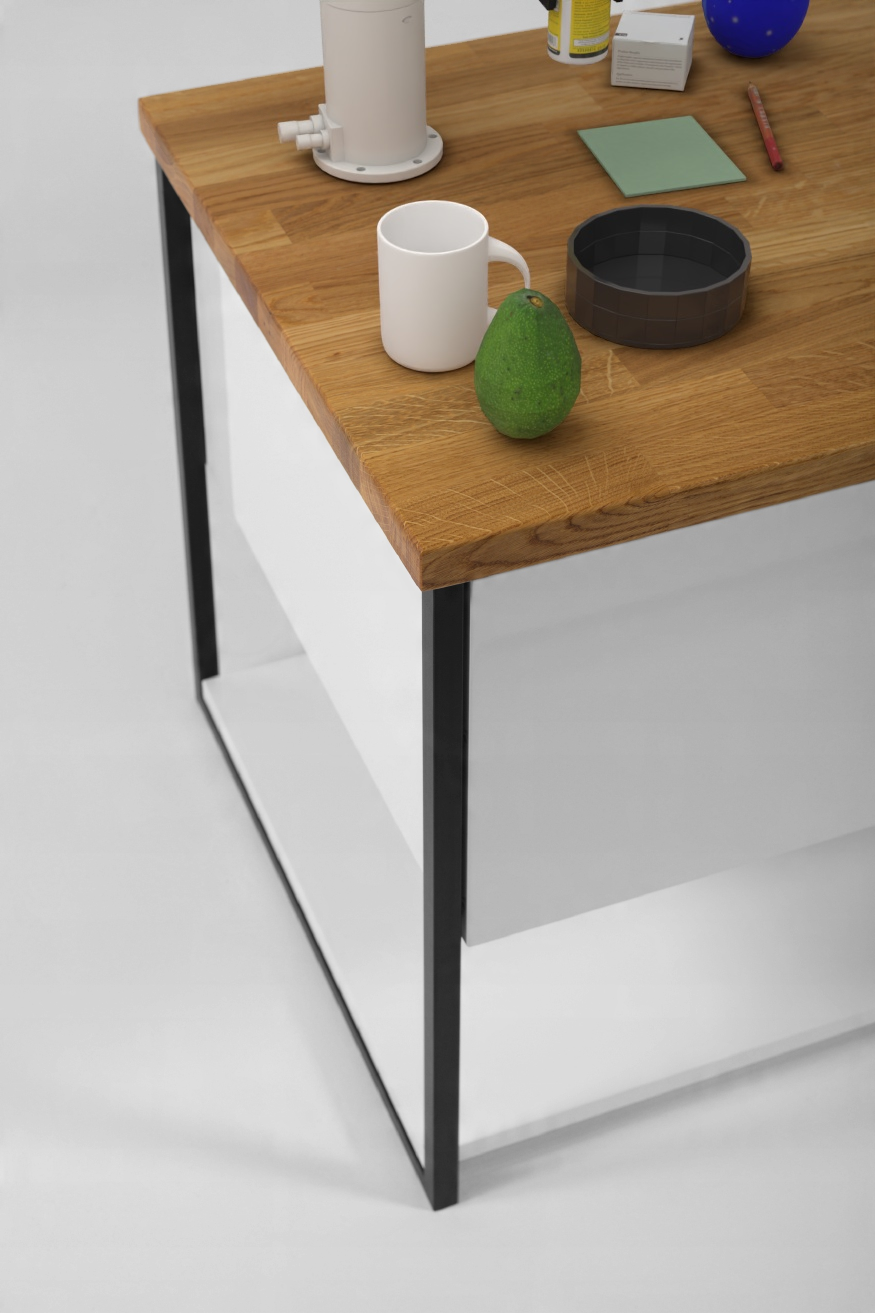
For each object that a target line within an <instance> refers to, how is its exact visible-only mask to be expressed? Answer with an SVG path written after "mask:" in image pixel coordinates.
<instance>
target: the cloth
mask: <svg viewBox="0 0 875 1313" xmlns="http://www.w3.org/2000/svg"><path fill="white" fill-rule="evenodd" d="M576 132H577V135H578V136H579V138H580V139H581V140H582V142H583V143H584V144H585V146H586V147H587V148H588V150H589V151H590V152H591V153H592V155H593V156H594V158H595V160H596V161H597V162H598V163H599V165H600V166H601V167H602V168H603V170H604V171H605V172H606V174H607V175H608V176H609V177H610V179H611V180H612V182H613V183H614V184H615V185H616V187H617V188H618V190H619V191H620V192H621V193H622V195H623V196H624V197H625V198H634V197H641V196H646V195H647V196H648V195H654V194H661V193H669V192H676V191H683V190H690V189H696V188H698V189H699V188H704V187H711V186H718V185H725V184H732V183H737V182H738V183H739V182H746V181H747V177H746V176H745V174H744V173H743V172H742V171H741V170H740V169H739V167H737V165H736V164H735V163H734V162H733V161H732V160H731V159H730V157H728V155H727V154H726V153H725V152H724V151H723V149H722V148H721V147H720V146H719V145H718V144H717V143H716V142H715V140H714V139H713V138H712V137H711V136H710V135H709V134H708V133H707V131H706V130H705V129H704V128H703V127H702V125H700V123H699V122H698V121H697V120H696V119H695V118H694V117H693V116H692V115H685V116H676V117H670V118H669V117H668V118H662V119H654V120H647V121H640V122H631V123H625V124H617V125H616V124H615V125H609V126H602V127H595V128H587V129H580V130H577V131H576Z"/></svg>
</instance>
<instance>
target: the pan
mask: <svg viewBox="0 0 875 1313" xmlns="http://www.w3.org/2000/svg"><path fill="white" fill-rule="evenodd" d="M566 244H567V245H566V246H567V247H566V265H565V288H564V289H565V291H564V292H565V296H564V297H565V300H564V302H565V307H566V309H567V311H568V313H569V315H570V316H571V317H572V319H573V320H574V321H575V322H576V323H577V324H578V325H579V326H580V327H581V328H583V329H584V330H586V331H587V332H589V333H591V334H593V335H595V336H596V337H599V338H601V339H604V340H606V341H609V342H612V343H615V344H619V345H623V346H627V347H632V348H640V349H648V350H649V349H650V350H673V349H682V348H683V349H684V348H690V347H694V346H700V345H702V344H706V343H709V342H712V341H714V340H716V339H718V338H720V337H722V336H724V335H726V334H727V333H729V332H730V331H731V330H733V329H734V328H735V327H736V326H737V325H738V323H739V322H740V321H741V319H742V317H743V314H744V311H745V307H746V304H747V299H748V298H747V297H748V291H749V282H750V276H751V275H750V274H751V267H752V259H753V255H752V254H753V253H752V248H751V244H750V241H749V240H748V239H747V237H746V236H745V235H744V234H743V233H742V232H741V230H740V229H739V227H736V226H735V225H733V224H732V223H730V222H728V221H727V220H725V219H723V218H721V217H719V216H717V215H714V214H711V213H708V212H705V211H702V210H699V209H696V208H692V207H691V208H690V207H685V206H679V205H673V204H656V203H655V204H654V203H653V204H650V203H649V204H647V203H641V204H634V205H626V206H620V207H614V208H611V209H609V210H605V211H602V212H599V213H596V214H593V215H591V216H589V217H588V218H586V219H585V220H583V221H582V222H581V223H579V224H578V225H576V226H575V228H574V229H573V231H572V232H571V234H570V235H569V237H568V239H567V242H566Z"/></svg>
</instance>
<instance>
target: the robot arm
mask: <svg viewBox="0 0 875 1313" xmlns="http://www.w3.org/2000/svg"><path fill="white" fill-rule="evenodd" d="M538 1H539V3H540V4H541V5H542V7H544V9H545V10H546V11H547V12H549V11H550V10H554V8H556V0H538ZM612 1H613V2H615V3H616V4H617V3H623V2H624V0H612ZM425 10H426V9H425V0H319V11H320V12H319V13H320V14H319V15H320V30H321V49H322V64H323V81H324V82H323V83H324V97H325V98H324V99H325V103H319V104H318V114H313V115H309V118H308V119H305V120H289V121H280V122H277V135H278V139H279V142H280V144H290V143H295V146H296V150H297V151H305V150H312V159H313V162H314V163H315V164H316V165H317V167H319V169H321V170H322V171H323V172H325V173H327V174H328V175H330V176H332V177H335V178H337V179H339V180H340V179H341V180H344V181H349V182H354V183H363V184H387V183H395V182H401V181H405V180H410V179H413V178H415V177H416V178H417V177H418V176H421V175H423V174H425V173H427V172H429V171H431V170H432V169H433V168H434V167H436V166H437V165H438V164H439V162H440V161H441V160H442V157H443V154H444V142H443V139H442V136H441V135H440V134H439V132H438V131H436V129H434V128H433V127H432V126H430V125H428V124H427V79H426V78H427V75H426V74H427V73H426V23H425V22H426V20H425V17H426V14H425Z"/></svg>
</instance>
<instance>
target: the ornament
mask: <svg viewBox="0 0 875 1313" xmlns="http://www.w3.org/2000/svg"><path fill="white" fill-rule="evenodd" d="M810 1H811V0H701V8H702V12H703V16H704V20H705V23H706V26H707V28H708V31H709V32H710V35H711V36H712V37H713V38H714V40H715V42H717V43H718V44H719V45H720V46H721V47H722V48H723V49H724V50H726V51H728V52H729V53H731V54H732V55H735V56H739V57H741V58H757V59H758V58H765V57H768V56H770V55H773V54H775V53H778V52H779V51H781V50H782V49H783V48H784V47H786V46H787V45H788V44H789V43H790V42H791V41H792V40H793V39H794V37H795V36H796V35H797V33H798V32H799V31H800V29H801V27H802V25H803V23H804V21H805V18H806V16H807V13H808V9H809V7H810Z"/></svg>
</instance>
